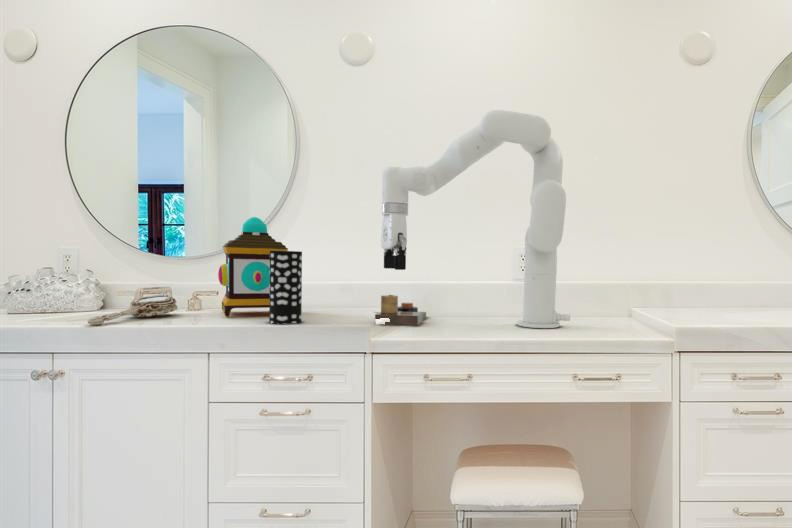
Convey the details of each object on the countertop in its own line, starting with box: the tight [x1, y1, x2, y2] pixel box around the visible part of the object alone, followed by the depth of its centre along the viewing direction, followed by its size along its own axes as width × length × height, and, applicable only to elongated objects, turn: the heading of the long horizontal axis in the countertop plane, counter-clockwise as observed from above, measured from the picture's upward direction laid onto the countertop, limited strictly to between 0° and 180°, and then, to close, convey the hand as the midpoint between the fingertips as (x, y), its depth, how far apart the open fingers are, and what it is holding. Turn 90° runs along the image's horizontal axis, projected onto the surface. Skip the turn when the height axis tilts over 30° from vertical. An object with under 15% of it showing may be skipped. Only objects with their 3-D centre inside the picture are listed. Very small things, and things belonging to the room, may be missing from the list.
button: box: [400, 302, 414, 308], centre depth 173 cm, size 4×4×2 cm
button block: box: [398, 305, 427, 321], centre depth 173 cm, size 11×9×4 cm
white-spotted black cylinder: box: [268, 250, 303, 325], centre depth 154 cm, size 8×8×20 cm
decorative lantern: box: [217, 216, 289, 318], centre depth 170 cm, size 20×20×30 cm
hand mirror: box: [87, 294, 179, 326], centre depth 150 cm, size 11×6×30 cm
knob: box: [380, 294, 399, 314], centre depth 160 cm, size 5×5×5 cm
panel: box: [373, 311, 424, 327], centre depth 160 cm, size 14×10×3 cm
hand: (394, 269), depth 162 cm, fingers open, 9 cm apart
